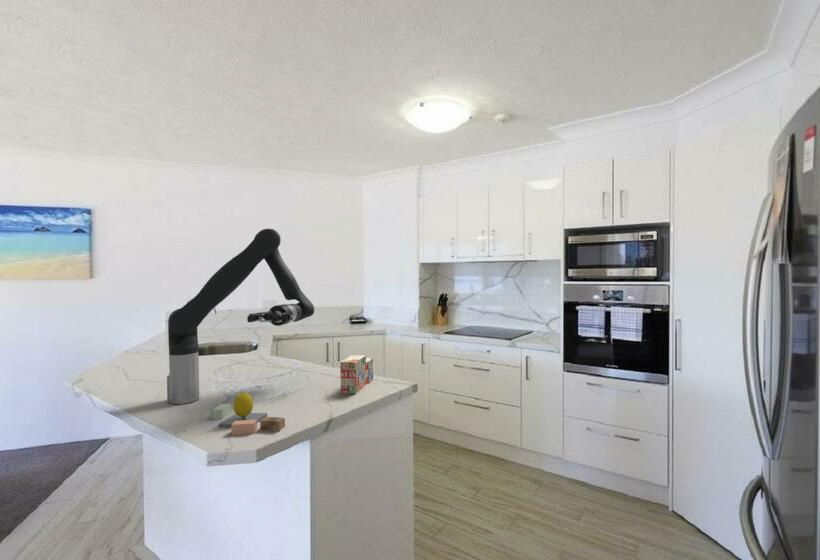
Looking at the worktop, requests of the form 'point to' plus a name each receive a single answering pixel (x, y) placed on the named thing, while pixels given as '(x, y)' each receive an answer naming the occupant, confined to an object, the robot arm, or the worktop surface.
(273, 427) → the brick walnut
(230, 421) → the coaster
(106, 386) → the worktop surface
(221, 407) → the brick sage
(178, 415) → the worktop surface
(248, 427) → the brick terracotta
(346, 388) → the stack of blocks
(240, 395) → the lemon
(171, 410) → the worktop surface
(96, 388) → the worktop surface
